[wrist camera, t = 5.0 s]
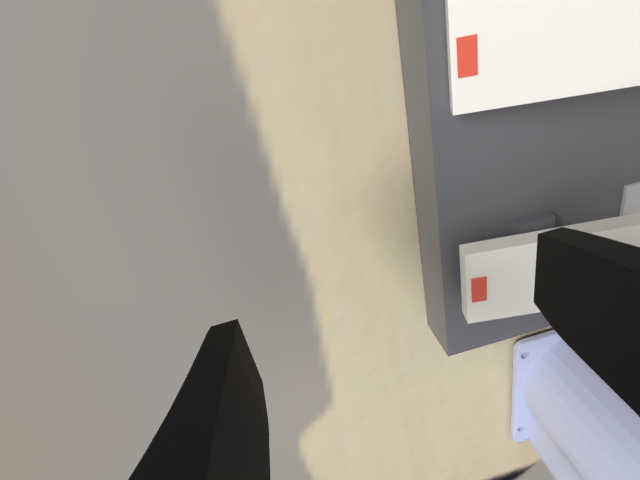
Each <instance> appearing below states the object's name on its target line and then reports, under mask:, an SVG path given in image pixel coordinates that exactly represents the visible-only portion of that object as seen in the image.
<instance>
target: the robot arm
mask: <svg viewBox="0 0 640 480" xmlns="http://www.w3.org/2000/svg"><path fill="white" fill-rule="evenodd" d="M534 303H535V305H536V306H537V307H538V309H539V310H540V312H541V313H542V314H543V316H544V317H545V318H546V320H547V321H548V322H549V324H550V325H551V326H552V327H553V329H554V330H551V331H548V332H544V333H541V334H538V335H534V336H531V337H528V338H524V339H521V340H519V341H517V342H516V344H515V345H514V355H513V384H512V413H511V438H512V439H513V441H514V442H521V441H525V440H529V441H530V443H531V444H532V446H533V447H534V449H535V450H536V451H537V453H538V454H539V456H540V457H541V459H542V460H543V462H544V463H545V464H546V466H547V467H548V469H549V470H550V471H551V473H552V474H553V476H554V477H555V479H556V480H640V247H637V246H633V245H630V244H626V243H623V242H619V241H616V240H612V239H609V238H605V237H601V236H598V235H594V234H590V233H587V232H583V231H578V230H574V229H569V228H565V227H560V228H557V229H553V230H550V231H546V232H543V233H539V234H538V238H537V254H536V270H535V286H534ZM129 480H270V456H269V428H268V417H267V410H266V403H265V396H264V389H263V383H262V380H261V377H260V375H259V372H258V369H257V367H256V364H255V362H254V360H253V357H252V355H251V352H250V349H249V347H248V344H247V342H246V340H245V337H244V335H243V332H242V329H241V327H240V324H239V322H238V319H236V320H233V321H229V322H226V323H222V324H219V325H216V326H212V327H211V328H210V329H209V331H208V332H207V335H206V337H205V339H204V341H203V344H202V345H201V347H200V350H199V352H198V354H197V356H196V358H195V360H194V363H193V365H192V367H191V369H190V371H189V373H188V375H187V377H186V379H185V381H184V383H183V385H182V387H181V389H180V391H179V393H178V395H177V397H176V399H175V400H174V403H173V404H172V406H171V409H170V410H169V412H168V414H167V416H166V417H165V419H164V421H163V423H162V424H161V426H160V428H159V430H158V431H157V433H156V435H155V436H154V438H153V440H152V442H151V444H150V445H149V447H148V449H147V450H146V452H145V454H144V455H143V457H142V459H141V460H140V462H139V464H138V465H137V467H136V468H135V470H134V472H133V473H132V475H131V476H130V478H129Z"/></svg>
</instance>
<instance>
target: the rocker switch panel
mask: <svg viewBox="0 0 640 480" xmlns="http://www.w3.org/2000/svg"><path fill="white" fill-rule="evenodd" d="M395 6H396V16H397V26H398V36H399V45H400V55H401V65H402V75H403V85H404V94H405V104H406V114H407V124H408V134H409V144H410V153H411V163H412V173H413V183H414V193H415V202H416V212H417V222H418V232H419V242H420V251H421V261H422V271H423V281H424V291H425V301H426V310H427V320H428V325H429V327H430V329H431V330H432V332H433V333H434V335H435V336H436V338H437V340H438V341H439V343H440V344H441V346H442V348H443V349H444V351H445V352H446V354H447V355H448V356H451V355H454V354H458V353H461V352H464V351H468V350H471V349H475V348H478V347H481V346H485V345H488V344H491V343H495V342H498V341H501V340H505V339H508V338H511V337H515V336H518V335H522V334H525V333H528V332H532V331H535V330H538V329H542V328H545V327H548V326H551V325H550V324H549V322H548V321H547V320H546V318H545V317H544V316H543V314H542V313H541V312H538V313H532V314H526V315H520V316H513V317H507V318H501V319H495V320H489V321H482V322H476V323H470V324H468V323H467V321H466V319H465V317H464V315H463V312H462V297H461V275H460V254H459V245H461V244H466V243H472V242H478V241H483V240H489V239H495V238H500V237H506V236H511V235H517V234H523V233H528V232H534V231H540V230H545V229H551V228H556V227H562V226H568V225H573V224H579V223H584V222H590V221H596V220H601V219H607V218H613V217H618V216H624V215H629V214H635V213H640V86H634V87H628V88H621V89H615V90H609V91H603V92H596V93H590V94H584V95H578V96H572V97H565V98H559V99H553V100H547V101H541V102H534V103H528V104H522V105H516V106H510V107H503V108H497V109H491V110H485V111H478V112H472V113H466V114H460V115H454V116H453V114H452V112H451V110H450V95H449V75H448V55H447V35H446V15H445V0H395Z"/></svg>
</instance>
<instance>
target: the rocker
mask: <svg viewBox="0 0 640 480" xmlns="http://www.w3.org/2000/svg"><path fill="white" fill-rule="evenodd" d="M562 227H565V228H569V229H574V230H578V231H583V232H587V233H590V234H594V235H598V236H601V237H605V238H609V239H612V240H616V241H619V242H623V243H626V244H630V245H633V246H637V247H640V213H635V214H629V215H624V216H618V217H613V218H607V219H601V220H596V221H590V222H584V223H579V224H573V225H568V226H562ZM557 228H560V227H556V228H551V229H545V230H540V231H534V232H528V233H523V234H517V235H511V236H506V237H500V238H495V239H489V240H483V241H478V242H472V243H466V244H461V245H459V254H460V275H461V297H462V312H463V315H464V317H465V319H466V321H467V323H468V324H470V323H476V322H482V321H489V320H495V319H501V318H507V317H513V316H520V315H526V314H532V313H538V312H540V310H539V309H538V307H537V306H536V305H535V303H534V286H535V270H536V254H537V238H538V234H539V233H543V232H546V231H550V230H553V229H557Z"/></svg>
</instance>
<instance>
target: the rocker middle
mask: <svg viewBox="0 0 640 480" xmlns="http://www.w3.org/2000/svg"><path fill="white" fill-rule="evenodd" d="M445 15H446V35H447V55H448V75H449V95H450V110H451V112H452V114H453V116H454V115H460V114H466V113H472V112H478V111H485V110H491V109H497V108H503V107H510V106H516V105H522V104H528V103H534V102H541V101H547V100H553V99H559V98H565V97H572V96H578V95H584V94H590V93H596V92H603V91H609V90H615V89H621V88H628V87H634V86H640V0H445Z"/></svg>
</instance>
